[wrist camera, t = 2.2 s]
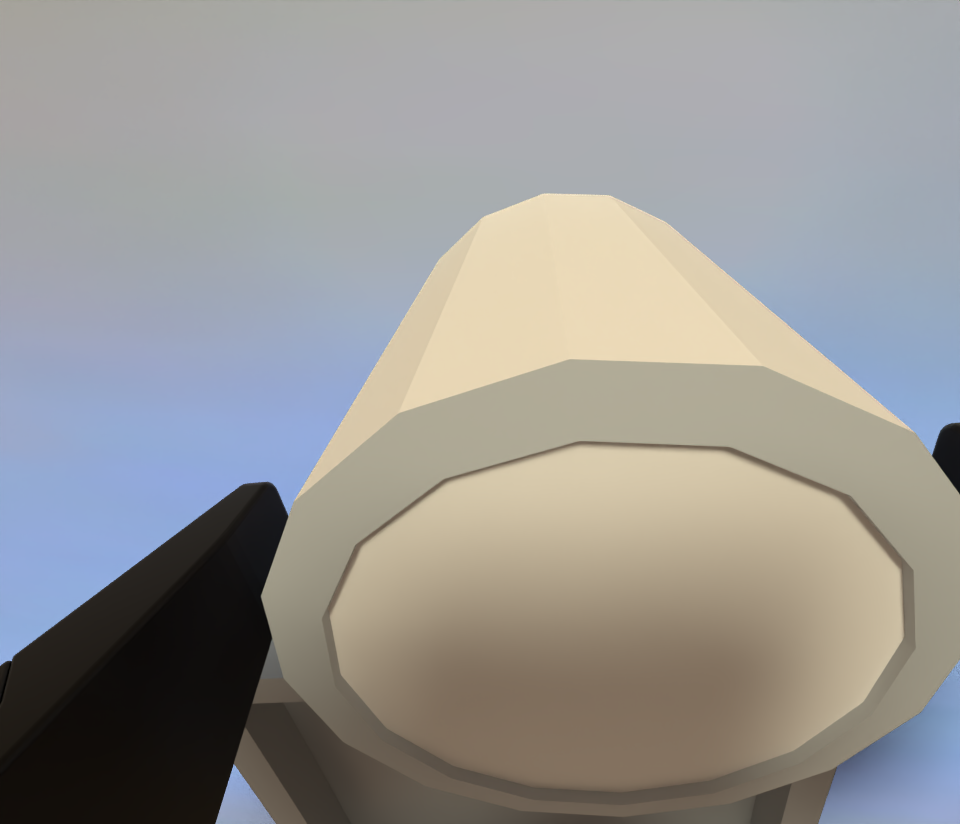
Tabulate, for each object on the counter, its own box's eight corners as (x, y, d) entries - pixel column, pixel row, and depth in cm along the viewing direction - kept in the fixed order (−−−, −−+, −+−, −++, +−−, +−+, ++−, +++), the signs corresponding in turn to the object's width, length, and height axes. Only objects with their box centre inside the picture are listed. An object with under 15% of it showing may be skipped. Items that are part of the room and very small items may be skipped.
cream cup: (819, 204, 10) (1219, 473, 4) (665, 504, 14) (771, 859, 8) (412, 107, 10) (258, 265, 4) (366, 445, 14) (254, 780, 8)
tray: (831, 572, 15) (875, 651, 13) (767, 833, 23) (789, 906, 21) (213, 608, 17) (176, 682, 15) (347, 838, 24) (334, 905, 23)
